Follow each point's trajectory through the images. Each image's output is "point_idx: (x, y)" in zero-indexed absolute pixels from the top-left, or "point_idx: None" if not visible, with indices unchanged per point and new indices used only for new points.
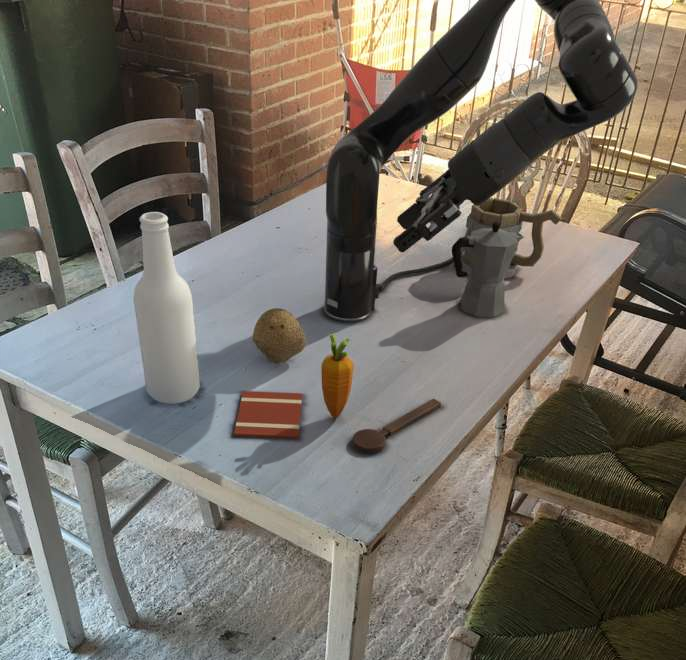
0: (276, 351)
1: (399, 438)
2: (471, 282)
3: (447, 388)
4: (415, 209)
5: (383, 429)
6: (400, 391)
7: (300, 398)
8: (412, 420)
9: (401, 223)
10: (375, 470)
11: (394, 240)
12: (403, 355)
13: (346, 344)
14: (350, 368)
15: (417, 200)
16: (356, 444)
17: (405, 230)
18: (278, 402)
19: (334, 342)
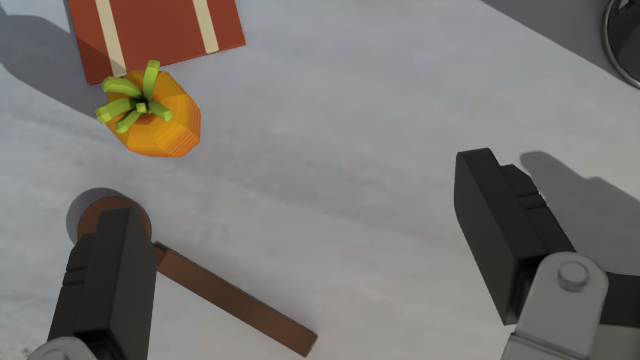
0: None
1: (158, 290)
2: None
3: (390, 356)
4: (504, 263)
5: (160, 252)
6: (339, 251)
7: (225, 45)
8: (218, 306)
9: (457, 183)
10: (35, 266)
11: (102, 214)
12: None
13: (102, 122)
14: (135, 149)
15: (546, 273)
16: (85, 210)
17: (109, 276)
18: (194, 5)
19: (110, 84)
